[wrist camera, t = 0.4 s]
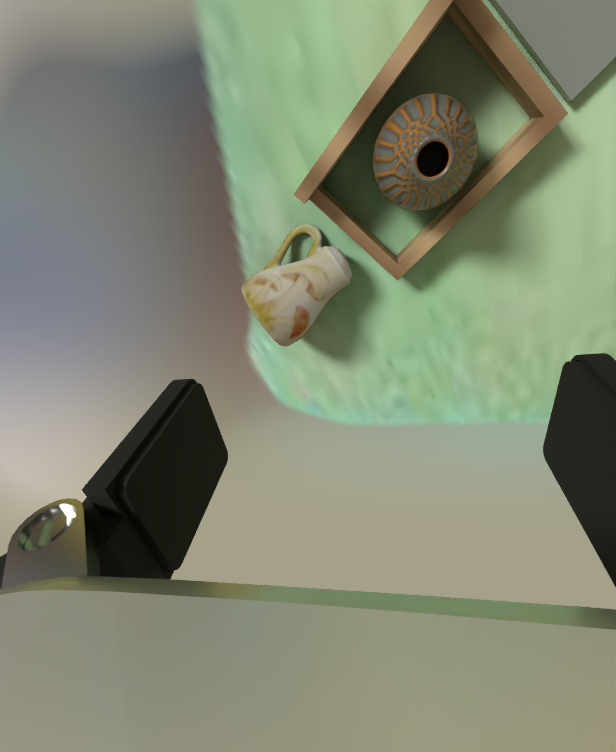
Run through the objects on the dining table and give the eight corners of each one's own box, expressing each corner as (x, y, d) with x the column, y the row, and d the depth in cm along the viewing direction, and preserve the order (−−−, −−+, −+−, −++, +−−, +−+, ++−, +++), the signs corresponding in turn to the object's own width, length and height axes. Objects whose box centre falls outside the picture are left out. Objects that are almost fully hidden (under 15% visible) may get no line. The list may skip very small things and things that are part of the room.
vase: (421, 219, 31) (436, 245, 23) (355, 169, 29) (349, 180, 22) (485, 137, 27) (526, 136, 20) (412, 75, 26) (428, 51, 18)
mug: (375, 276, 34) (336, 358, 30) (300, 292, 41) (259, 361, 36) (336, 207, 30) (285, 292, 25) (260, 237, 36) (208, 308, 32)
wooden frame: (449, -18, 23) (465, -52, 19) (552, 115, 26) (586, 111, 21) (304, 186, 30) (293, 194, 26) (395, 271, 33) (399, 290, 29)
